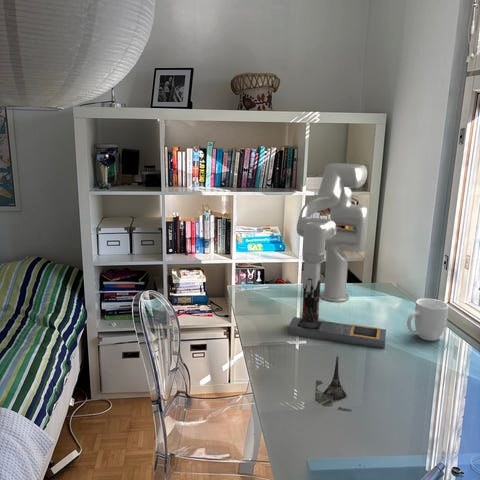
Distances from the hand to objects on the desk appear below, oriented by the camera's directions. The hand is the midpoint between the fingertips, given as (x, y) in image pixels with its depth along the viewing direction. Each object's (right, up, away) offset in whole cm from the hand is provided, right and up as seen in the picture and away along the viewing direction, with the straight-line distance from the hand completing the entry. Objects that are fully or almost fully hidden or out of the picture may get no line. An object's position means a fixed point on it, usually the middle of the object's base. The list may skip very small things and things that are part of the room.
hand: (311, 303), depth 177 cm
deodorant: (0, -6, +2) cm, 6 cm away
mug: (+42, -12, -1) cm, 43 cm away
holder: (+9, -12, -1) cm, 15 cm away
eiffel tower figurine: (0, -21, -40) cm, 46 cm away
